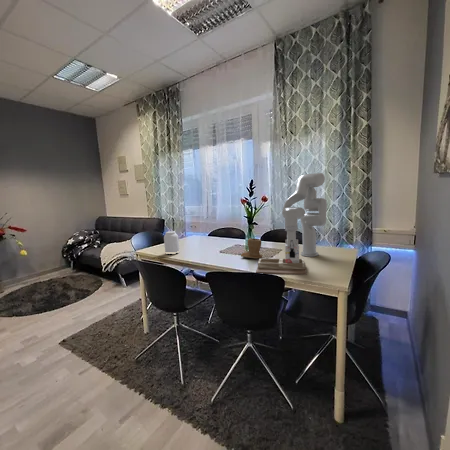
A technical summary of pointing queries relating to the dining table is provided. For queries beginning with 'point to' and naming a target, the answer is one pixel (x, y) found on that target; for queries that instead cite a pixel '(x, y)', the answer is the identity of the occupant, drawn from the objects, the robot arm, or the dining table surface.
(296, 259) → the ink cartridge box
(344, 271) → the dining table surface
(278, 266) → the wooden frame
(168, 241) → the white jar
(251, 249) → the brown boots
